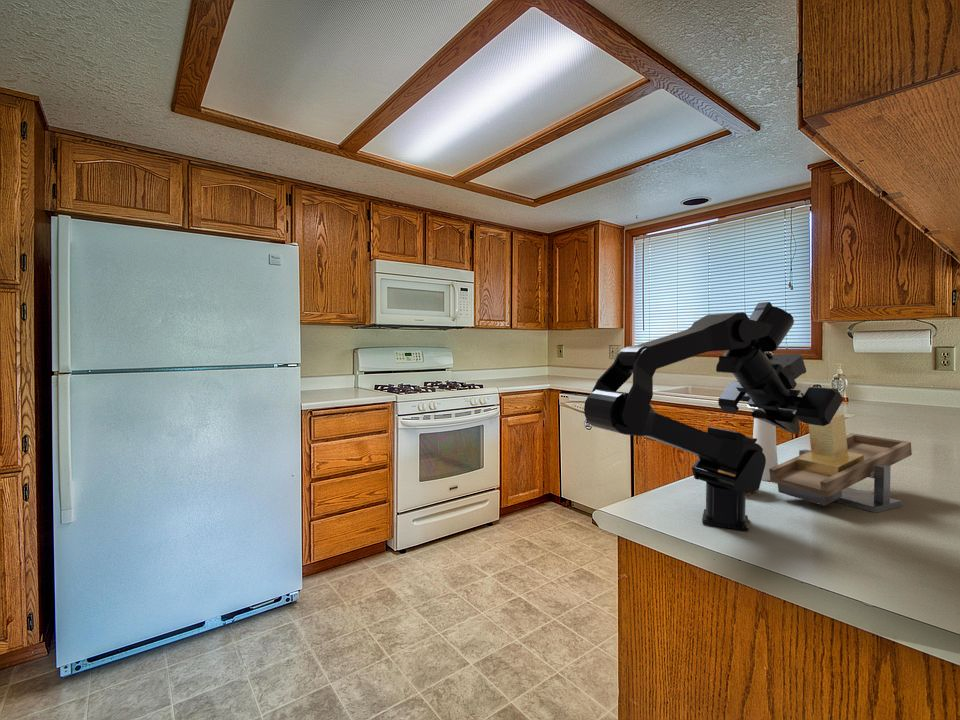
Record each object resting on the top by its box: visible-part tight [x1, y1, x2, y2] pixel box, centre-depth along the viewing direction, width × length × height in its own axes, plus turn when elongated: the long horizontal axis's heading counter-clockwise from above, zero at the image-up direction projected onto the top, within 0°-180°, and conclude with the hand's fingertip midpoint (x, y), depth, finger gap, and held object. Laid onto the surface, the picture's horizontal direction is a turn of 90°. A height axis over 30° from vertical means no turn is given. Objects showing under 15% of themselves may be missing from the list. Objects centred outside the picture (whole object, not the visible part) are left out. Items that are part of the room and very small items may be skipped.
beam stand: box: [798, 449, 902, 514], centre depth 88 cm, size 8×15×8 cm, turn 23°
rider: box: [797, 412, 864, 476], centre depth 86 cm, size 8×7×10 cm
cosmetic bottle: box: [752, 417, 779, 482], centre depth 101 cm, size 6×6×22 cm
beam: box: [769, 433, 913, 506], centre depth 88 cm, size 26×11×4 cm, turn 113°
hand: (796, 431), depth 82 cm, fingers closed
